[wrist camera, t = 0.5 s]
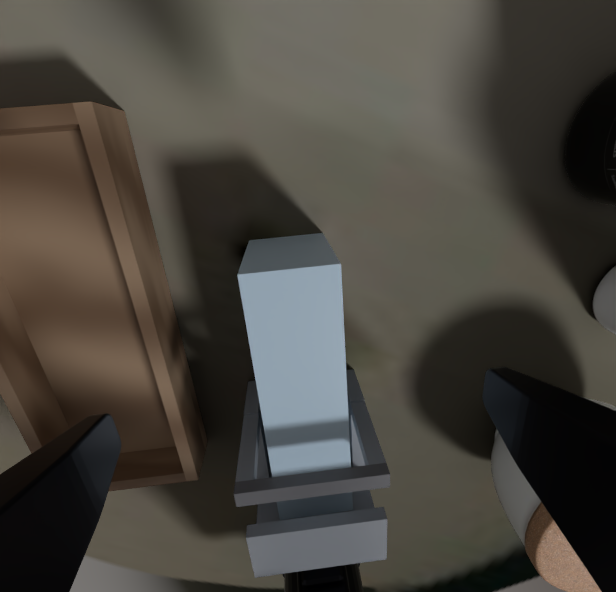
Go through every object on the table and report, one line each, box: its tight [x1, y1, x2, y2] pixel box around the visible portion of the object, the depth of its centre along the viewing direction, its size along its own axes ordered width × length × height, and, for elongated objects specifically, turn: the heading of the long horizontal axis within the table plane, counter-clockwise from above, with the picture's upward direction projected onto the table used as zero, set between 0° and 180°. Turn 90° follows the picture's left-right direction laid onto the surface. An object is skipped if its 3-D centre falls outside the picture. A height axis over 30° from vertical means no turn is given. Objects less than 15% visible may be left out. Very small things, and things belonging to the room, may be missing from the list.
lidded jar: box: [491, 398, 616, 592], centre depth 21 cm, size 11×11×9 cm
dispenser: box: [234, 369, 390, 578], centre depth 20 cm, size 6×7×8 cm
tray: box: [0, 101, 208, 491], centre depth 18 cm, size 20×8×3 cm, turn 5°
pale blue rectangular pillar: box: [237, 233, 353, 520], centre depth 19 cm, size 14×4×6 cm, turn 5°
